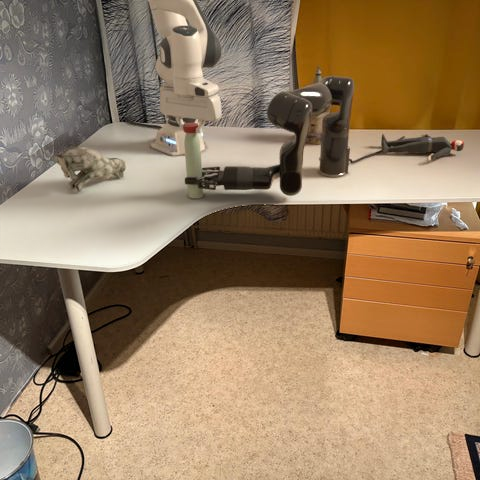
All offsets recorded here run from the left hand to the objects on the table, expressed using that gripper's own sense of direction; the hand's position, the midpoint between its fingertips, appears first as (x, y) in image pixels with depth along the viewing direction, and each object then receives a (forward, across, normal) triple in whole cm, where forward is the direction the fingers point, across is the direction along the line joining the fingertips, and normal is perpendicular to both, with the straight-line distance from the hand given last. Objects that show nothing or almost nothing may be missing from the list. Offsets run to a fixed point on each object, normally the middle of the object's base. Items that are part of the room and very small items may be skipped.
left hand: (191, 131), depth 164 cm
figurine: (+22, -36, -8) cm, 43 cm away
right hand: (+15, -2, -1) cm, 15 cm away
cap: (-2, 0, 0) cm, 2 cm away
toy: (+22, +57, +72) cm, 94 cm away
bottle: (+22, 0, 0) cm, 22 cm away
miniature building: (+22, +15, +68) cm, 73 cm away
